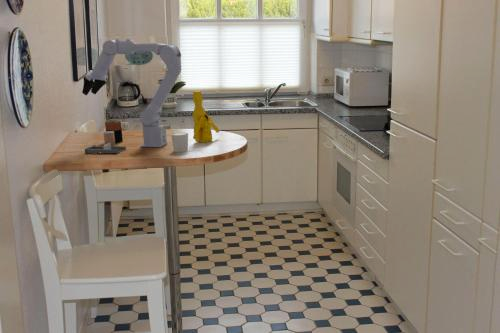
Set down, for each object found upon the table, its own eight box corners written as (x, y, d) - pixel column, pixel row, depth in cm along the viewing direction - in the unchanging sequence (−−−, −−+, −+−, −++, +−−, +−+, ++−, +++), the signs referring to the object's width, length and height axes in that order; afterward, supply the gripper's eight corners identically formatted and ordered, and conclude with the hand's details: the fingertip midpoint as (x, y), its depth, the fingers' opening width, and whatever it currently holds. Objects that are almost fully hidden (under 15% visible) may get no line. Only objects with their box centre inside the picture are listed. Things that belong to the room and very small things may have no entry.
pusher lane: (126, 150, 265) (125, 145, 265) (117, 153, 258) (117, 149, 257) (94, 149, 269) (93, 145, 269) (85, 153, 262) (84, 148, 261)
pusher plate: (111, 150, 266) (110, 143, 265) (105, 152, 261) (104, 145, 260) (110, 150, 266) (109, 143, 265) (103, 152, 261) (103, 145, 260)
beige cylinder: (182, 152, 254) (181, 135, 253) (169, 151, 258) (167, 134, 256) (192, 149, 260) (191, 132, 258) (179, 148, 263) (178, 131, 262)
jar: (117, 147, 273) (115, 131, 271) (112, 149, 269) (110, 132, 267) (108, 147, 274) (106, 131, 273) (103, 149, 270) (101, 132, 269)
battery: (115, 143, 282) (113, 121, 280) (106, 142, 287) (104, 120, 284) (123, 141, 285) (121, 119, 283) (114, 140, 290) (112, 118, 288)
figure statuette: (197, 145, 267) (194, 93, 263) (183, 144, 272) (180, 93, 267) (223, 138, 281) (220, 89, 277) (209, 137, 286) (206, 88, 281)
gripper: (102, 61, 276) (89, 88, 279) (86, 61, 262) (72, 89, 265) (115, 69, 275) (102, 96, 278) (99, 70, 261) (86, 98, 264)
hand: (88, 93), depth 272 cm, fingers open, 7 cm apart
